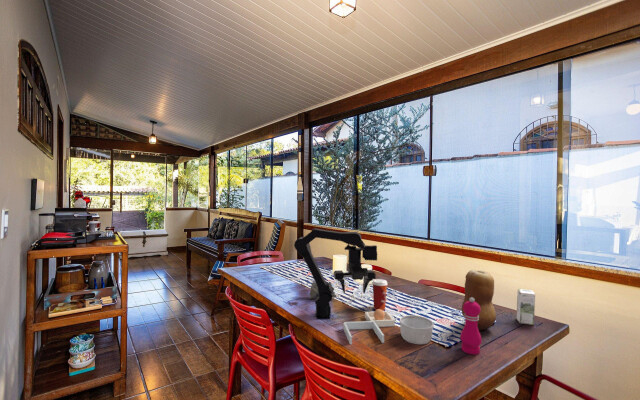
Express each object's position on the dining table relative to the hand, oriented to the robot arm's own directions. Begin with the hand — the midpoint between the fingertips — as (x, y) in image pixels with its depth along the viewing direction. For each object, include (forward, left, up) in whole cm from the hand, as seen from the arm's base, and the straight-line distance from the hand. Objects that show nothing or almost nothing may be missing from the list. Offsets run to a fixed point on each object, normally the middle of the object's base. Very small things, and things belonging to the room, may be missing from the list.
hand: (354, 293), depth 146 cm
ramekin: (+21, -21, -12) cm, 32 cm away
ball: (+11, -4, -11) cm, 16 cm away
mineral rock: (-12, +27, -12) cm, 32 cm away
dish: (+11, -4, -12) cm, 17 cm away
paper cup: (+16, +12, -12) cm, 23 cm away
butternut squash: (+52, -14, -12) cm, 55 cm away
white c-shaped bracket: (0, -17, -12) cm, 21 cm away
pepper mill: (+37, -32, -12) cm, 51 cm away
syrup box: (+78, -10, -12) cm, 80 cm away
